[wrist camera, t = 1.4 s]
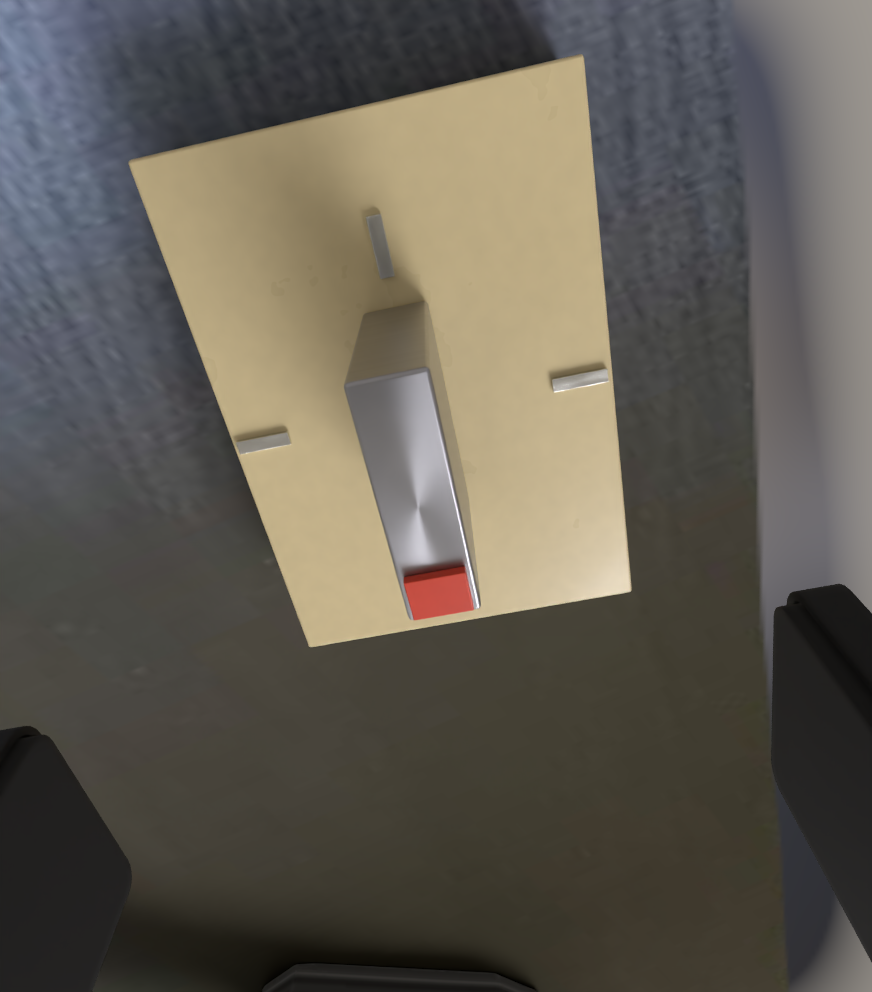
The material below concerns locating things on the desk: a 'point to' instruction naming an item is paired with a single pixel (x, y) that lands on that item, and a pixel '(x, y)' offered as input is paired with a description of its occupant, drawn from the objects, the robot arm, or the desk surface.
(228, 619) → the desk surface
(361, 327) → the metal bar
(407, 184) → the beige lever base
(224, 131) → the desk surface
